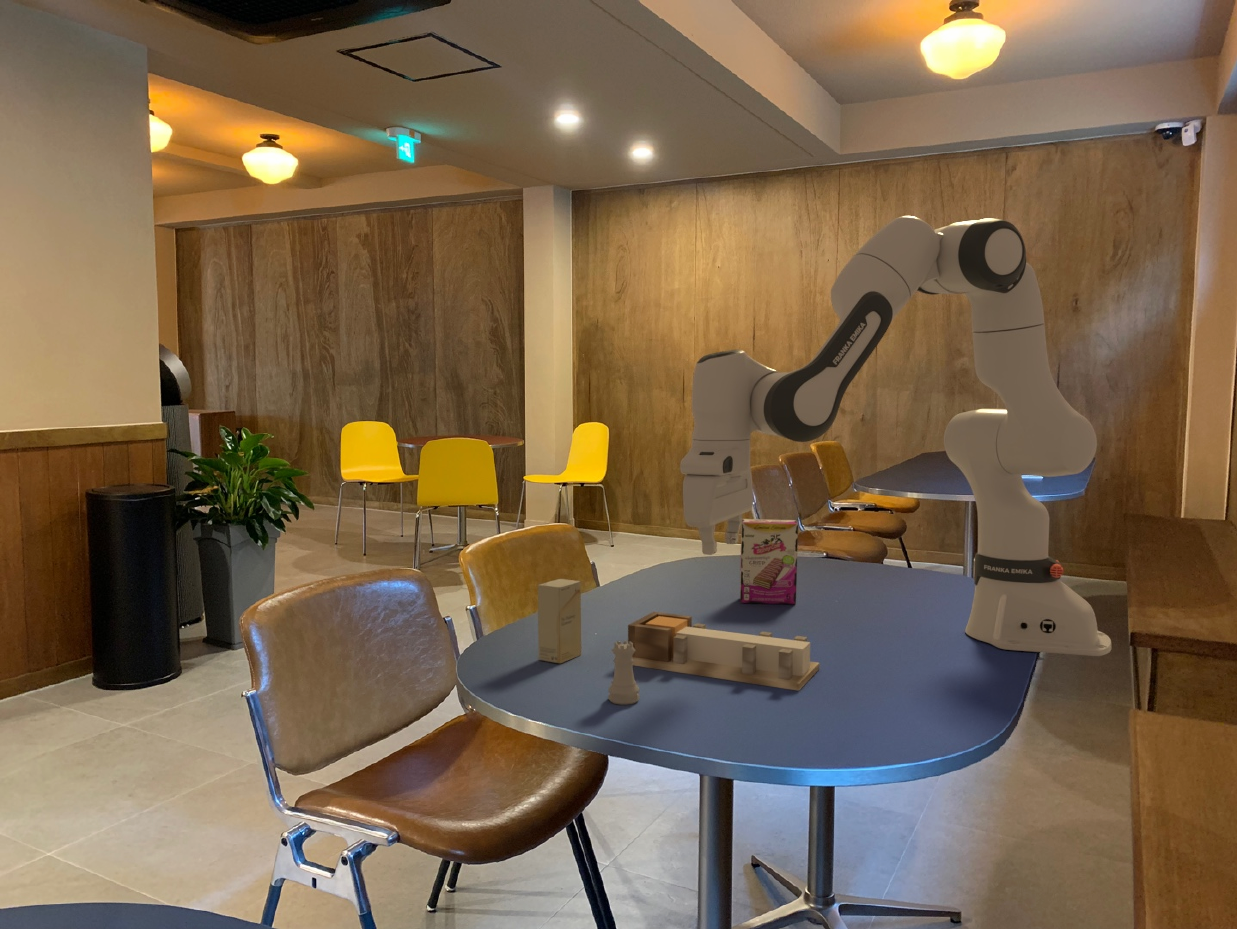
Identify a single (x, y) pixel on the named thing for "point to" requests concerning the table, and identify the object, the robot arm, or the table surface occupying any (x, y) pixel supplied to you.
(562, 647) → the skincare box
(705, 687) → the table surface
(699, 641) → the orange tipped beige bar
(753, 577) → the candy bar box
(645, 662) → the rail
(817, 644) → the table surface
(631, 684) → the rook chess piece
